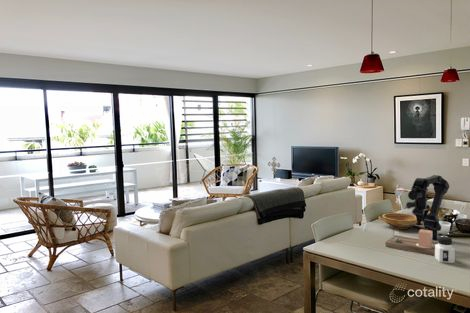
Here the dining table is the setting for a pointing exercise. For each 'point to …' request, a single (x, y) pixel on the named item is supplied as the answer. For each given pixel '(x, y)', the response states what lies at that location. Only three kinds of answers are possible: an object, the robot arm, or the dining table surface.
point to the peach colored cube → (425, 238)
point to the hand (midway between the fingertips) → (420, 222)
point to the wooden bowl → (399, 220)
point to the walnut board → (410, 245)
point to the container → (445, 250)
